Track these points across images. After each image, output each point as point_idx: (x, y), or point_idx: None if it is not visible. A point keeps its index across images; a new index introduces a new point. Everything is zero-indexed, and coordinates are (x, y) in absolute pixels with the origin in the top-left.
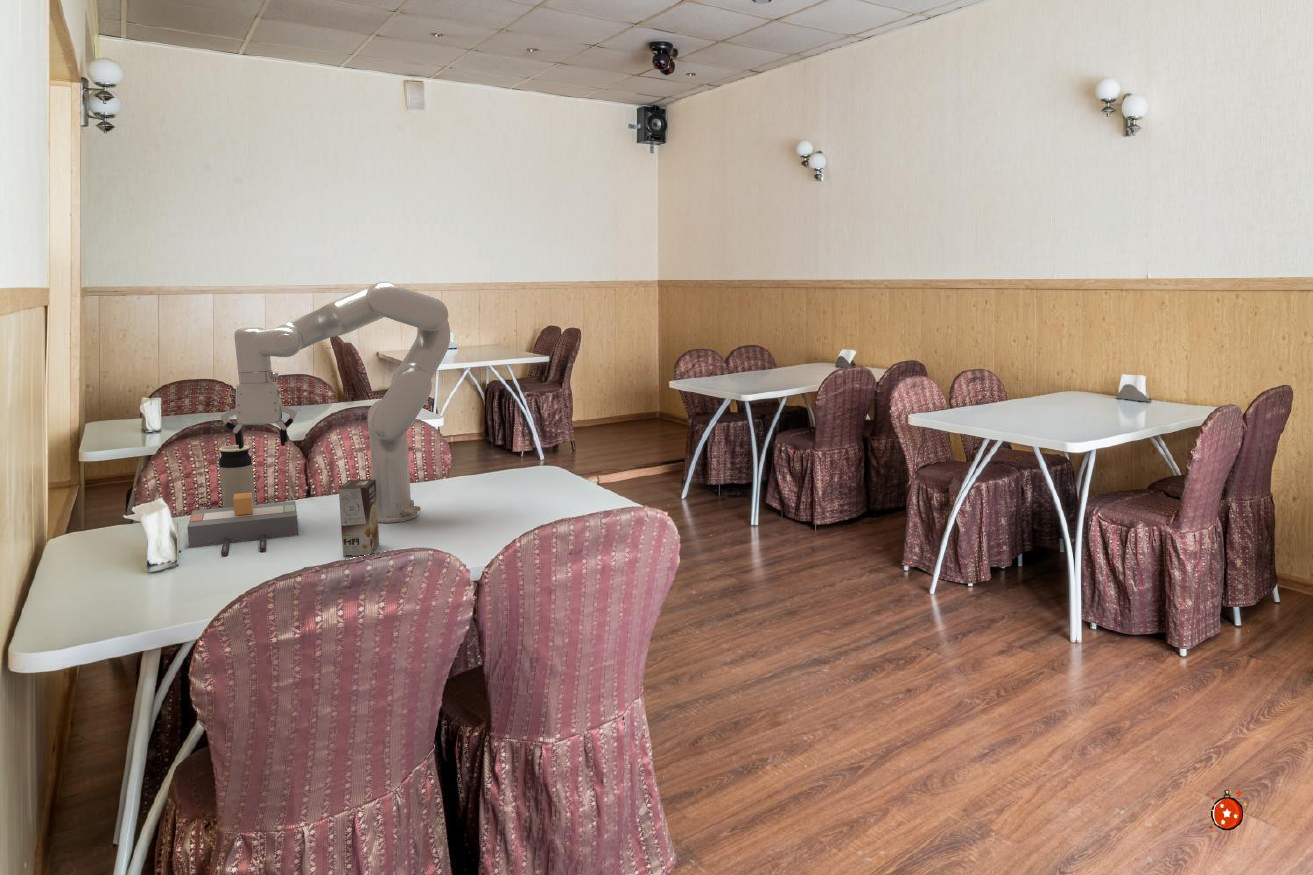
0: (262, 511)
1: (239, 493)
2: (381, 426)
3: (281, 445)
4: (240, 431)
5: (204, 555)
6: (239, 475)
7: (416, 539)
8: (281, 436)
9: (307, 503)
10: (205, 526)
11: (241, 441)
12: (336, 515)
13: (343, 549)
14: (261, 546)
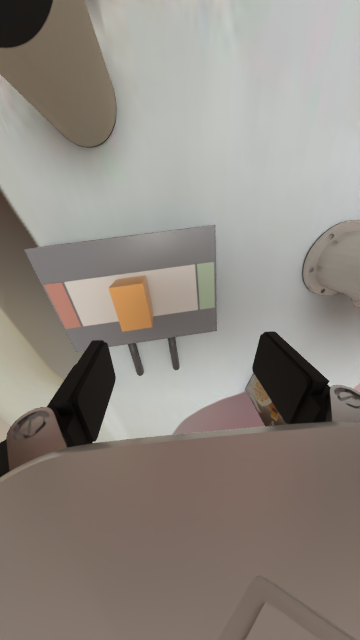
0: (164, 296)
1: (118, 286)
2: None
3: (254, 370)
4: (77, 431)
5: (118, 365)
6: (46, 75)
7: (315, 358)
8: (276, 401)
9: (229, 45)
10: None
11: (107, 401)
12: (268, 218)
13: (248, 394)
14: (175, 369)
